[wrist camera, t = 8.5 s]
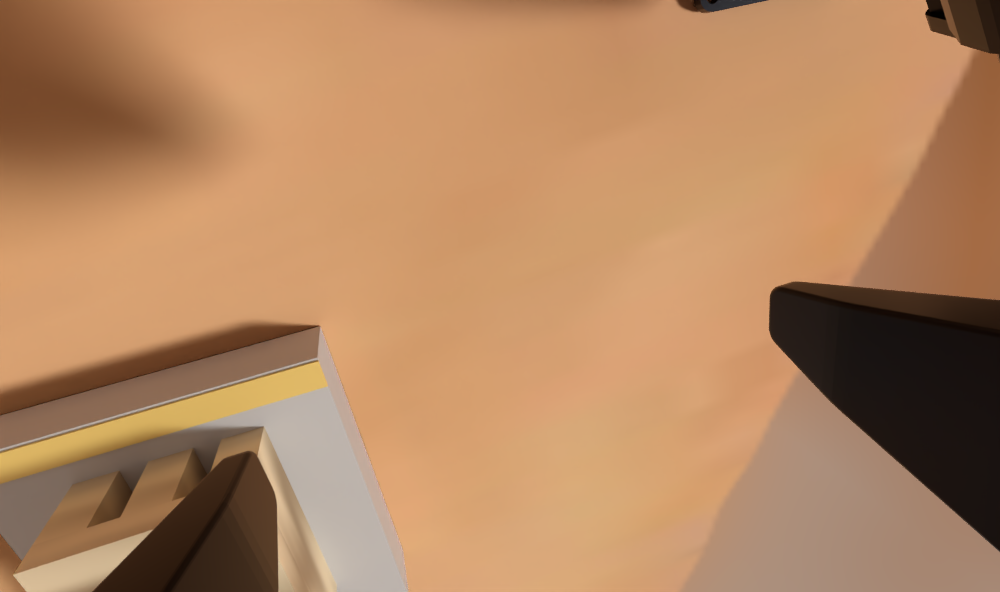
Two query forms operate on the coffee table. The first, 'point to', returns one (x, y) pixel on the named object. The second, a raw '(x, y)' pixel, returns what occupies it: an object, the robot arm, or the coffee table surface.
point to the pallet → (133, 515)
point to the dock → (213, 447)
